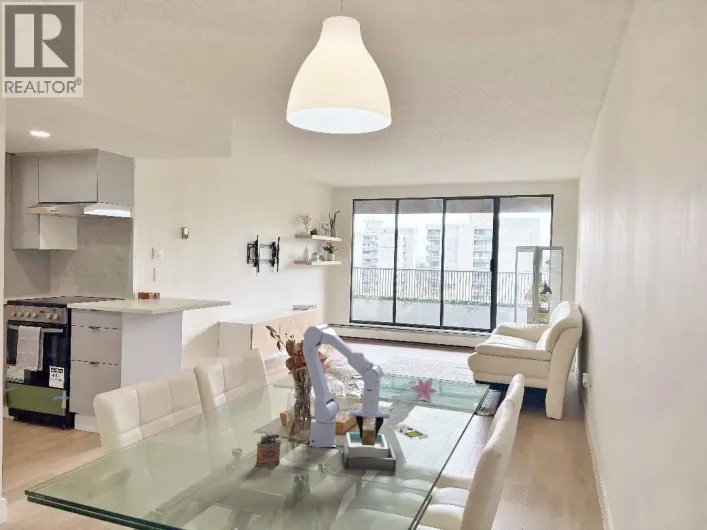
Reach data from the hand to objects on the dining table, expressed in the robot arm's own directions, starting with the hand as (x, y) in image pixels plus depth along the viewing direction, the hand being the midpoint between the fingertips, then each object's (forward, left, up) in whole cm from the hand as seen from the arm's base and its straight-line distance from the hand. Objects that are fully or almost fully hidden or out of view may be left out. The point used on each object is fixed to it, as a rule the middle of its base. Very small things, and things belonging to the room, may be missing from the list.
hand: (368, 437), depth 190 cm
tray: (0, +3, -6) cm, 6 cm away
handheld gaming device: (+19, +23, -6) cm, 30 cm away
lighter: (-34, -12, -6) cm, 37 cm away
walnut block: (0, 0, -2) cm, 2 cm away
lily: (+34, +68, -6) cm, 77 cm away
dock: (0, -6, -6) cm, 9 cm away
